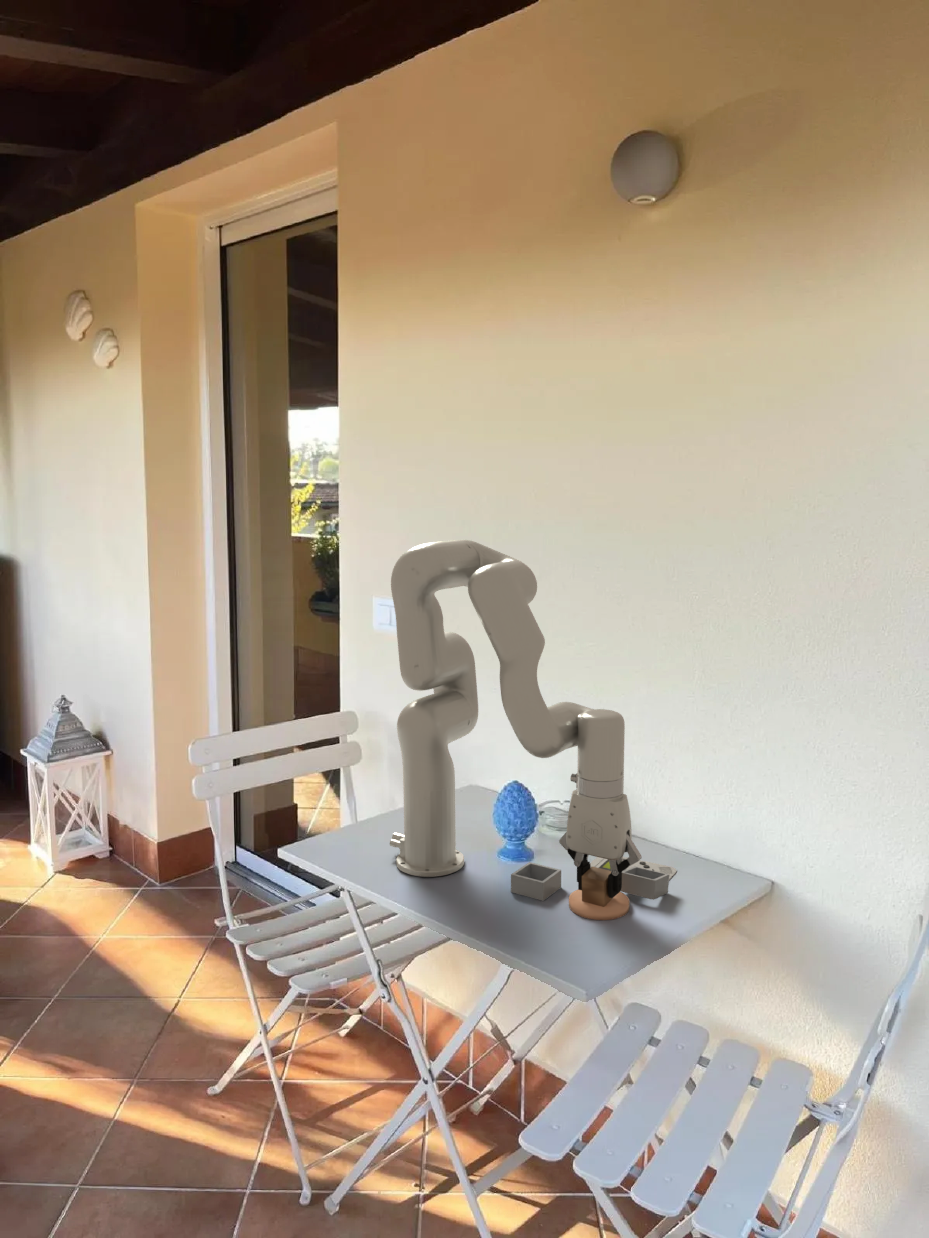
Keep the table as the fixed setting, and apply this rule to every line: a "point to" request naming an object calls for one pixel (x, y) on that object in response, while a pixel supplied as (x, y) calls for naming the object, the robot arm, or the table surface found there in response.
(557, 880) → the grey open box
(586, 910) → the tan flat disc
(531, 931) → the table surface
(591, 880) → the block
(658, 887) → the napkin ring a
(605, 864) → the handheld gaming device
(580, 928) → the table surface
